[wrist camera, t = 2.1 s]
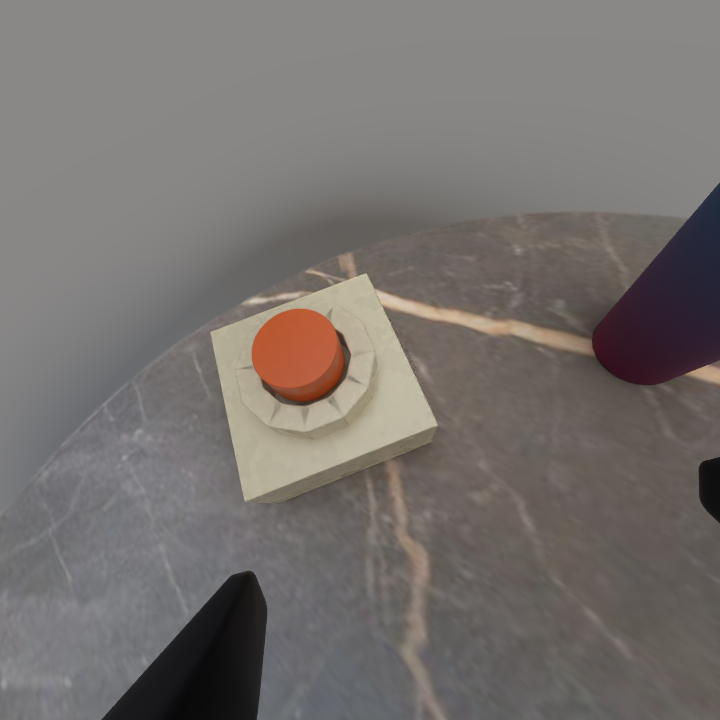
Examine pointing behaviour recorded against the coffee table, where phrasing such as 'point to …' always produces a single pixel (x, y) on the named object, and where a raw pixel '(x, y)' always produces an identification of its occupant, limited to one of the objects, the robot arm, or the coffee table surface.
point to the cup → (669, 307)
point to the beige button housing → (322, 401)
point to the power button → (298, 354)
